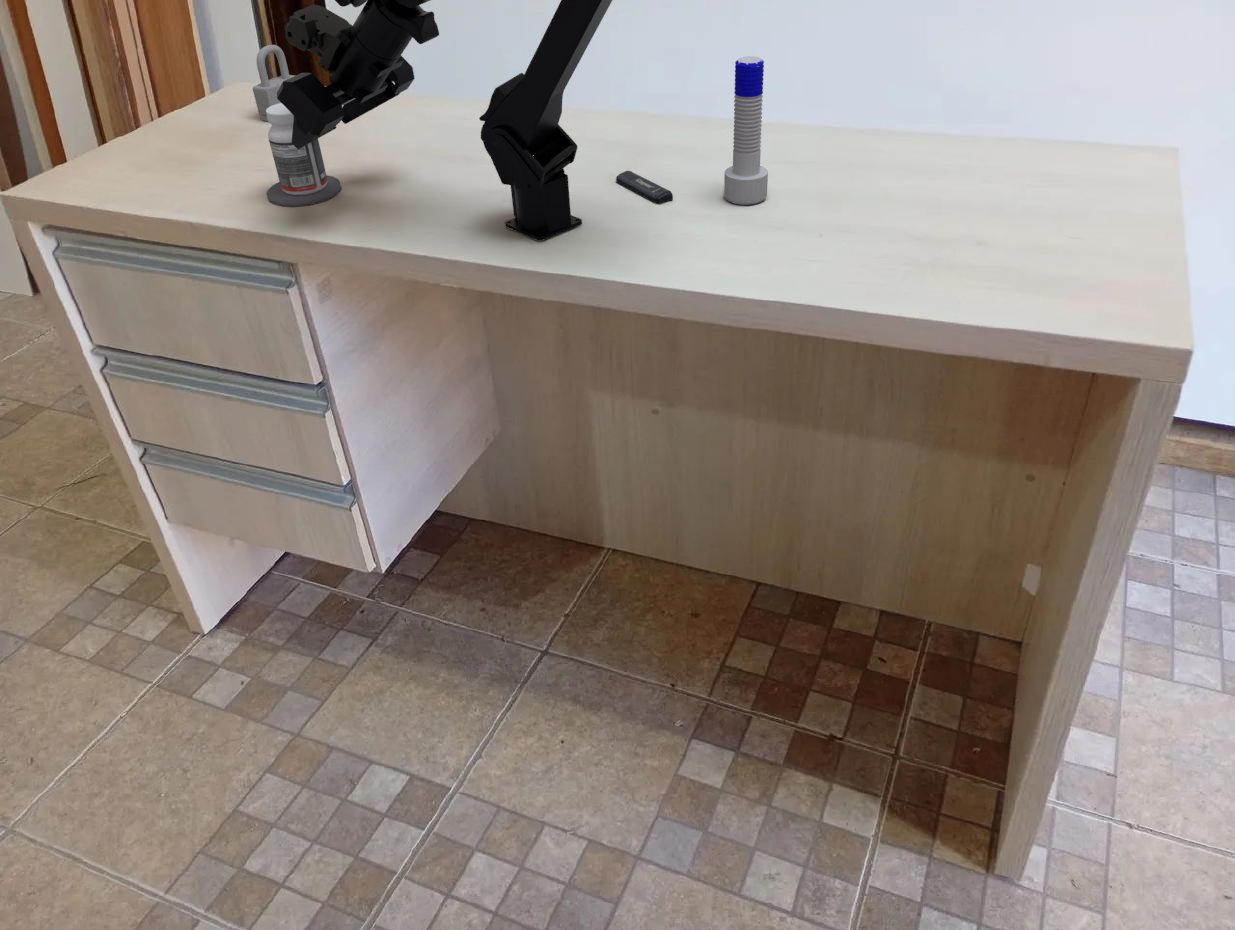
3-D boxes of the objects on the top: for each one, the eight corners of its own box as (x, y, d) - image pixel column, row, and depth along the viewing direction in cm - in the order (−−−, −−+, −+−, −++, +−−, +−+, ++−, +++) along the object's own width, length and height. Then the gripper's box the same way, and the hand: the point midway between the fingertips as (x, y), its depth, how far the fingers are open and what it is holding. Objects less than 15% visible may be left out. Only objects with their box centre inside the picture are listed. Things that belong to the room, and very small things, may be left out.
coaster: (355, 190, 128) (354, 186, 127) (290, 212, 123) (289, 208, 123) (318, 173, 133) (317, 169, 133) (255, 194, 128) (253, 189, 128)
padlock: (290, 106, 158) (274, 38, 152) (310, 109, 156) (294, 40, 150) (257, 120, 153) (239, 50, 147) (277, 123, 151) (260, 53, 145)
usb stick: (614, 184, 127) (613, 172, 126) (631, 180, 128) (631, 167, 127) (657, 208, 120) (656, 195, 119) (675, 203, 121) (675, 190, 120)
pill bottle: (305, 176, 131) (286, 97, 125) (338, 183, 128) (320, 103, 123) (272, 192, 127) (251, 111, 121) (305, 199, 125) (285, 118, 119)
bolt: (770, 191, 122) (761, 207, 118) (729, 188, 123) (719, 204, 119) (777, 54, 112) (767, 67, 108) (732, 52, 114) (721, 65, 110)
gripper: (372, -37, 117) (317, 59, 127) (267, 1, 103) (214, 105, 114) (443, 38, 119) (382, 127, 129) (348, 85, 105) (289, 180, 116)
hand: (319, 132), depth 122 cm, fingers open, 9 cm apart
